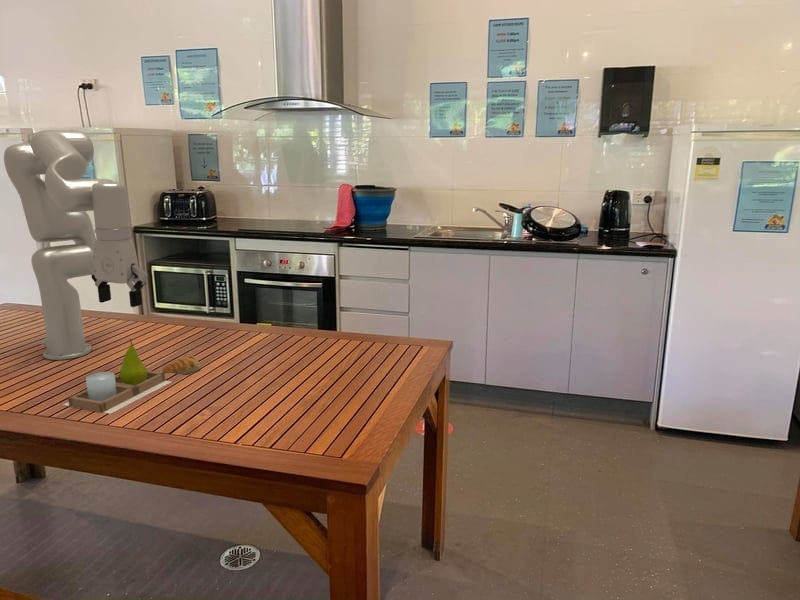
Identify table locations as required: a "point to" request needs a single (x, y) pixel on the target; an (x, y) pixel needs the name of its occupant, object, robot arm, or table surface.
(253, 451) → the table surface
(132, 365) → the fruit
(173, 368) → the pastry
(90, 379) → the pale blue rounded block
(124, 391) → the tray
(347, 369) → the table surface
